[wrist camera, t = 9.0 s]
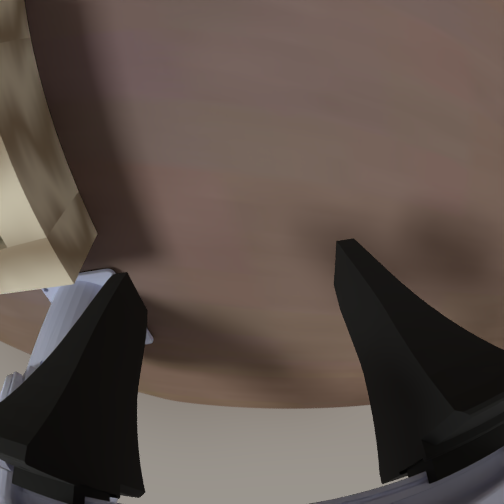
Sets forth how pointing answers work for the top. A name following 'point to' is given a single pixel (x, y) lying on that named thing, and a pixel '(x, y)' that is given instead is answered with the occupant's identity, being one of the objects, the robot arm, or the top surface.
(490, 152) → the top surface
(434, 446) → the robot arm
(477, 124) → the top surface
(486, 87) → the top surface
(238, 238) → the top surface
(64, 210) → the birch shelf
